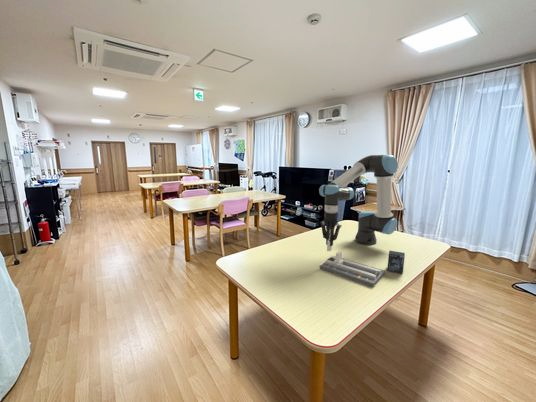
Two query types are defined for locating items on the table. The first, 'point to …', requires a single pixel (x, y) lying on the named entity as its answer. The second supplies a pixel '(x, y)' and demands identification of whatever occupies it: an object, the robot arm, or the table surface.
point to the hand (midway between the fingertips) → (329, 250)
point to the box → (396, 261)
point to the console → (354, 271)
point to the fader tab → (339, 258)
